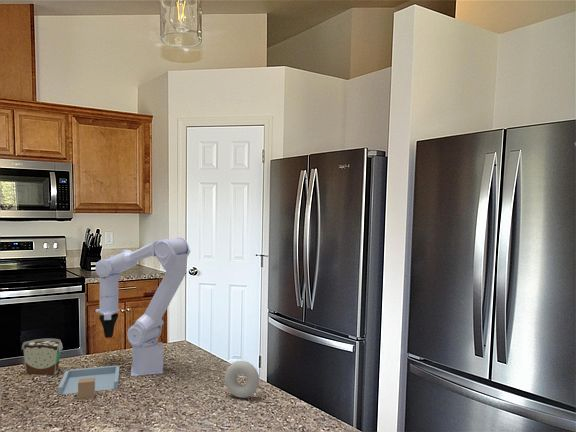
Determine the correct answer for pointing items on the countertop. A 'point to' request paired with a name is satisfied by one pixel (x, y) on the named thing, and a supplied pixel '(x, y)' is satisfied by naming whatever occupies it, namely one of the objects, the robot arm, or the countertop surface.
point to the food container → (42, 356)
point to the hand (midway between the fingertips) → (108, 337)
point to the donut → (250, 374)
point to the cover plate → (86, 389)
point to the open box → (103, 377)
